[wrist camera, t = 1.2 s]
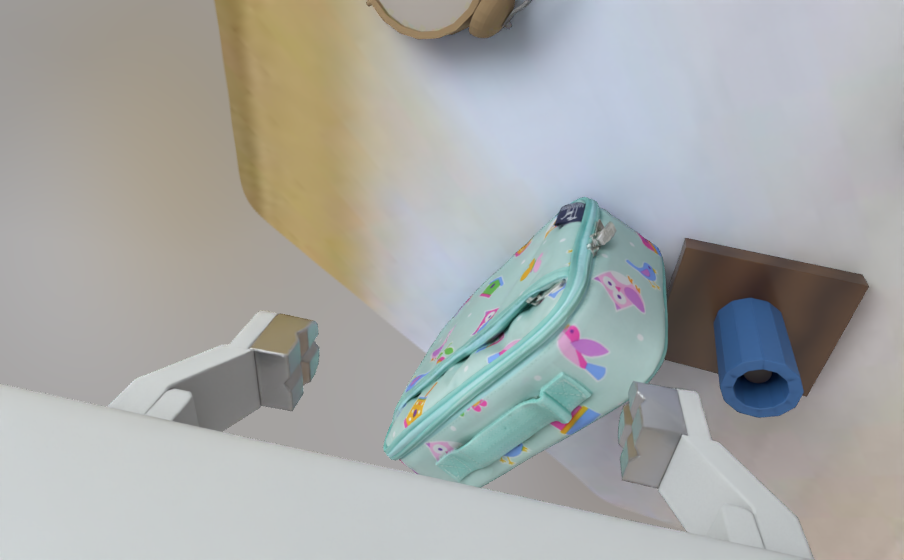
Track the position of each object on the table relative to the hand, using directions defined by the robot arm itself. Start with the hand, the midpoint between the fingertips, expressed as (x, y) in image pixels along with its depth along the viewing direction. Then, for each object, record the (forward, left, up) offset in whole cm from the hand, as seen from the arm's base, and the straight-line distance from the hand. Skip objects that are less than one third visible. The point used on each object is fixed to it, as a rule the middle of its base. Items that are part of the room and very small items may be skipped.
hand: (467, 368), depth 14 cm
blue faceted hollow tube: (-3, +24, -36) cm, 43 cm away
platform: (-3, +24, -38) cm, 45 cm away
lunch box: (+13, +15, -38) cm, 43 cm away
